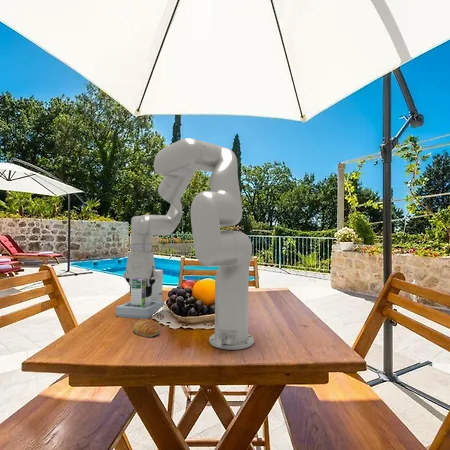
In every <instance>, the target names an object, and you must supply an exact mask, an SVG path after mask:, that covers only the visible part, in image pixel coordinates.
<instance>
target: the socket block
mask: <svg viewBox="0 0 450 450" xmlns="http://www.w3.org/2000/svg"><path fill="white" fill-rule="evenodd" d="M164 305H165V301H163V300H162V301H151V305H150V306H148V307H146V308H142V307H131V300H129V301H128V302H124V303H123V304H119V305H116V306H115V315H114V316H119V317H118V318H127V317H128V318H129V319H138V318H139V319H138V320H141V319H148V320H150V319H151V318H152V315H153V314H155V313H156V312H157V311H158V310H159V309H160V308H161V307H163V306H164ZM128 318H127V319H128Z"/></svg>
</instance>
